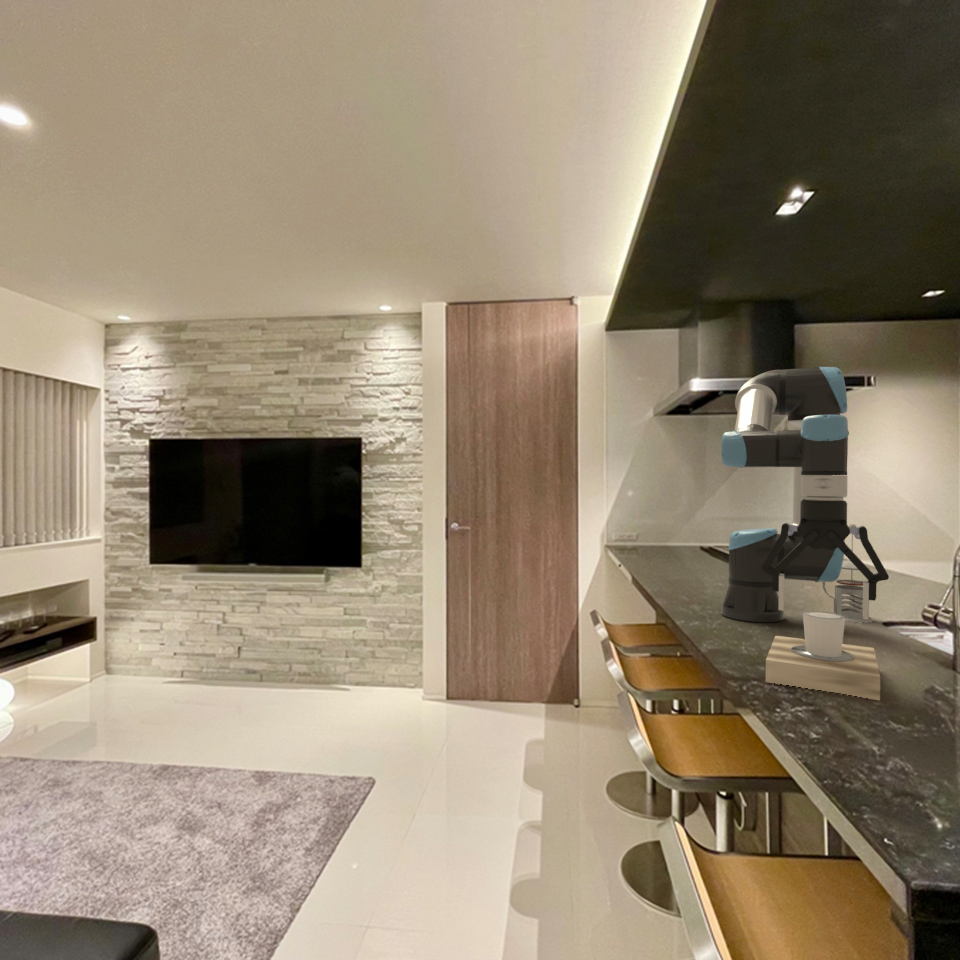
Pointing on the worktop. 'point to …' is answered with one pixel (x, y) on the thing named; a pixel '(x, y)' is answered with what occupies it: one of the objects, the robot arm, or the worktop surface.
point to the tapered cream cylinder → (823, 633)
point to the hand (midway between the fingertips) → (822, 613)
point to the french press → (849, 588)
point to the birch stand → (824, 668)
